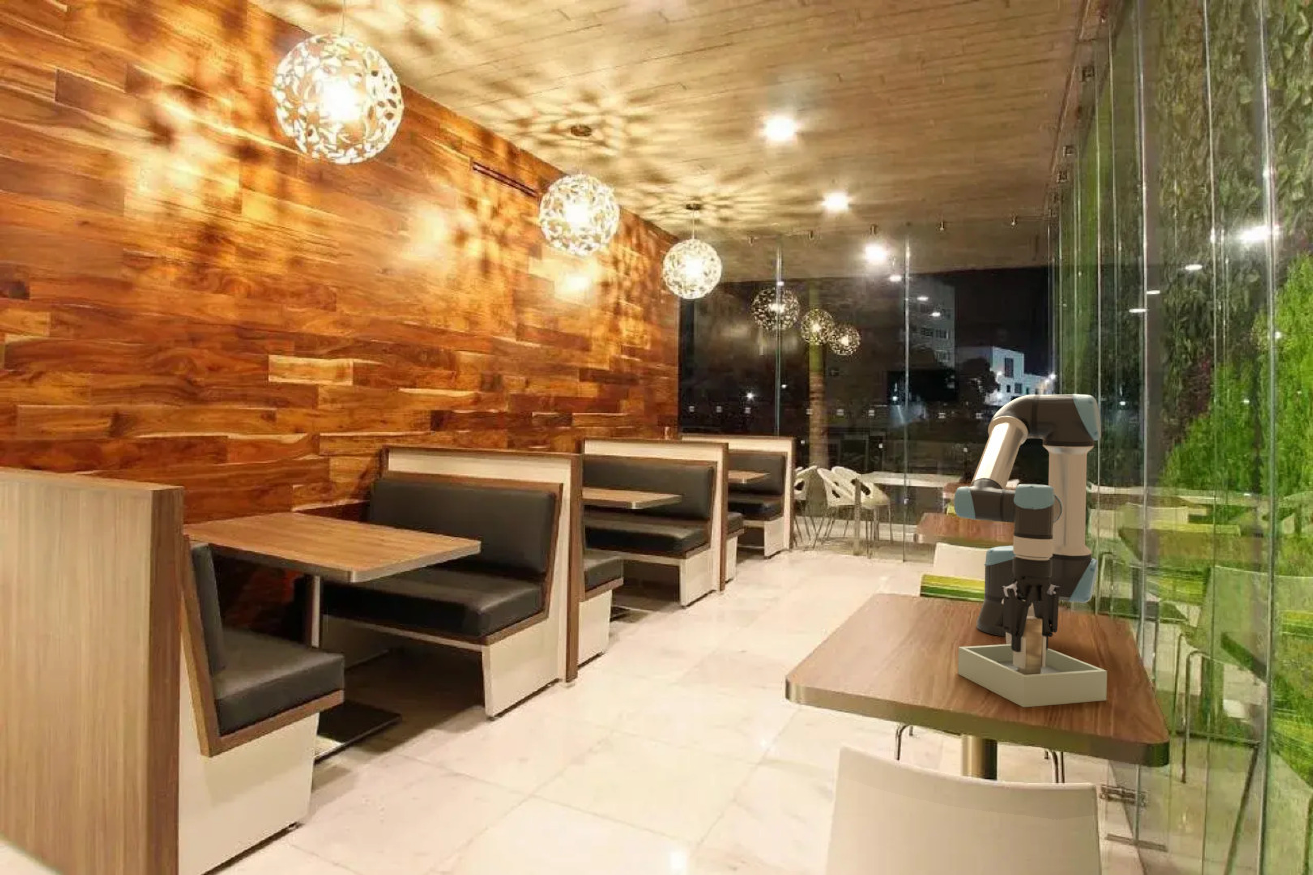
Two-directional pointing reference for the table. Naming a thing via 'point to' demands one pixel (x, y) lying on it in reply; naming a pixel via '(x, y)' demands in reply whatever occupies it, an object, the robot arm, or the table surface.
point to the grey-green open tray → (1033, 677)
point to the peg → (1032, 646)
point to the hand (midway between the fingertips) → (1029, 665)
